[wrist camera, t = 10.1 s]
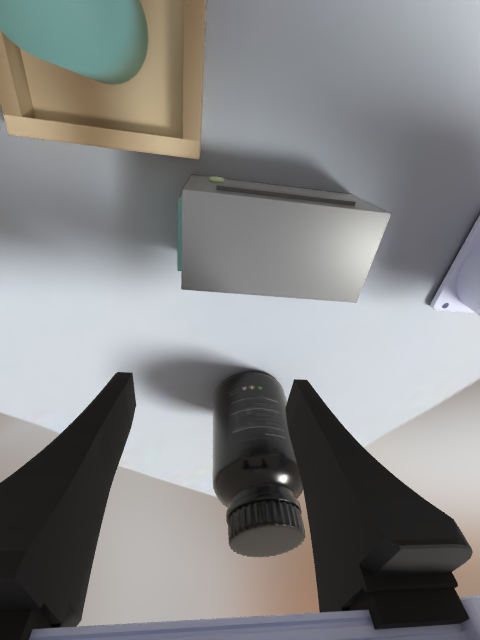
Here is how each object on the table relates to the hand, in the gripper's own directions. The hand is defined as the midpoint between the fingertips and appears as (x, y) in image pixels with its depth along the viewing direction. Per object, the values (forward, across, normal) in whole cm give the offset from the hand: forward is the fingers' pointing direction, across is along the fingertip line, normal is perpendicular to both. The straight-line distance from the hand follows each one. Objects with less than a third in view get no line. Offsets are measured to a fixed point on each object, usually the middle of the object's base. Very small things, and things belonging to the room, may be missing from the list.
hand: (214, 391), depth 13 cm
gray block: (+10, -3, -5) cm, 11 cm away
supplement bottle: (+10, -4, +11) cm, 15 cm away
